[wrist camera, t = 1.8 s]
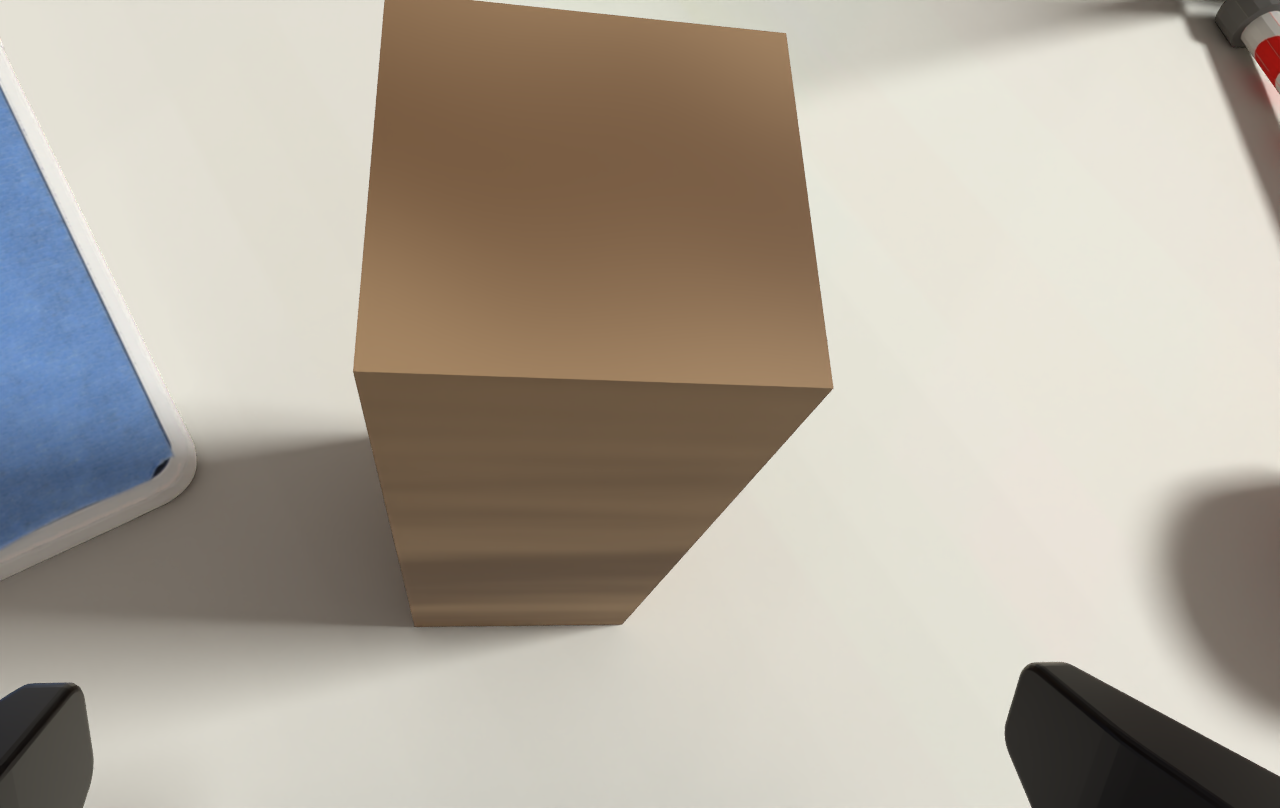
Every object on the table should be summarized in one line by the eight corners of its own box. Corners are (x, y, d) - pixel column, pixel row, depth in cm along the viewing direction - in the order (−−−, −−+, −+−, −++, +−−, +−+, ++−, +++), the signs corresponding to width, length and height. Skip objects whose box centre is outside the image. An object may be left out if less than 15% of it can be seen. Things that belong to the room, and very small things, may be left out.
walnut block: (622, 624, 21) (833, 387, 9) (414, 626, 20) (352, 371, 8) (615, 435, 23) (786, 32, 11) (424, 431, 22) (385, -9, 10)
